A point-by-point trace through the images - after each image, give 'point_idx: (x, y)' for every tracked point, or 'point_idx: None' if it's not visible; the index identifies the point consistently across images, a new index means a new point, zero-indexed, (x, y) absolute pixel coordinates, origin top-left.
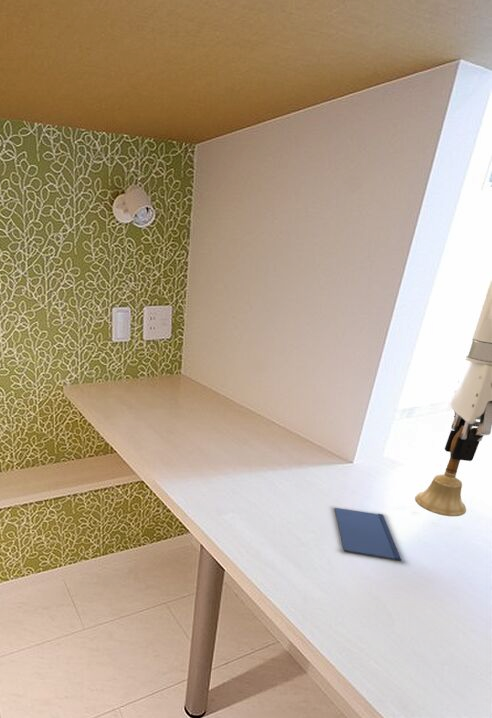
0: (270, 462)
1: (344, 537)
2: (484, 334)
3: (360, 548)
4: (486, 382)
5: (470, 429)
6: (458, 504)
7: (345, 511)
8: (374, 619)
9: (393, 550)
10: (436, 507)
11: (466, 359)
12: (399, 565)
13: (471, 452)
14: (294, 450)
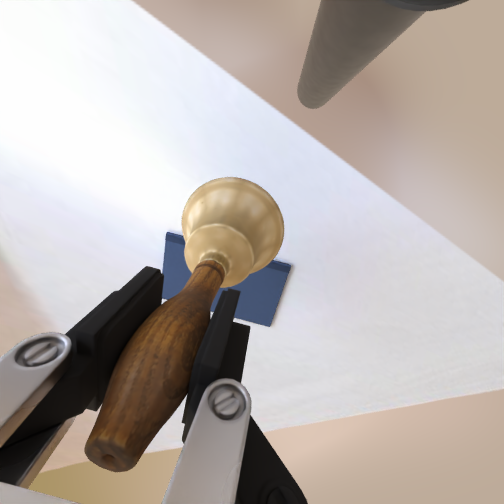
0: (33, 334)
1: (240, 316)
2: None
3: (266, 307)
4: None
5: (66, 358)
6: (265, 222)
7: (168, 287)
8: (396, 345)
9: (270, 267)
10: (263, 262)
11: None
12: (301, 271)
13: (247, 340)
14: None
